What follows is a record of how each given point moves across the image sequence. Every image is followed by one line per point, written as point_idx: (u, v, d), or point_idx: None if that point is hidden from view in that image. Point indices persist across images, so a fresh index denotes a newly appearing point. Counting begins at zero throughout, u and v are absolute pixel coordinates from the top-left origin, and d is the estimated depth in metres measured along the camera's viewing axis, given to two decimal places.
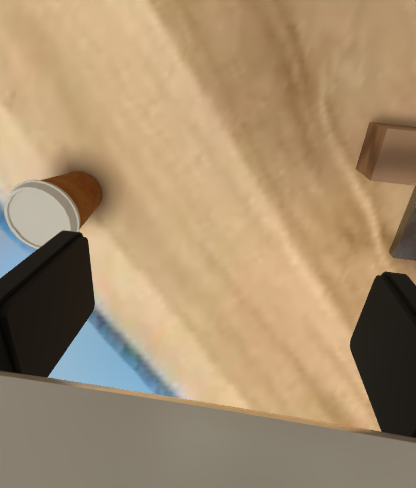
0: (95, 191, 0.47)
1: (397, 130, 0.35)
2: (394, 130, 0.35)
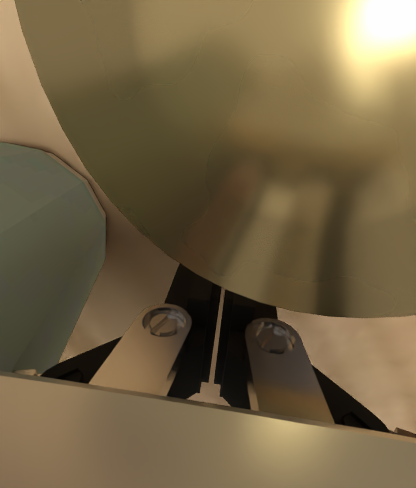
0: None
1: None
2: None
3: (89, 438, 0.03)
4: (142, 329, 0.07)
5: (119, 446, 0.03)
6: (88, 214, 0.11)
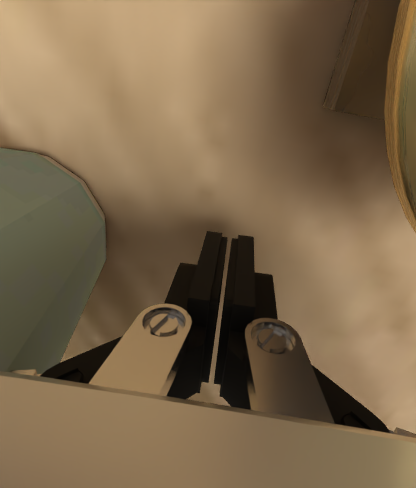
0: None
1: None
2: None
3: (89, 438, 0.03)
4: (142, 329, 0.07)
5: (119, 446, 0.03)
6: (85, 214, 0.11)
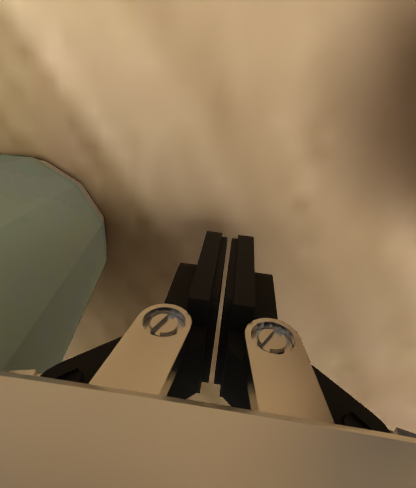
0: None
1: None
2: None
3: (89, 438, 0.03)
4: (142, 329, 0.07)
5: (119, 446, 0.03)
6: (83, 215, 0.12)
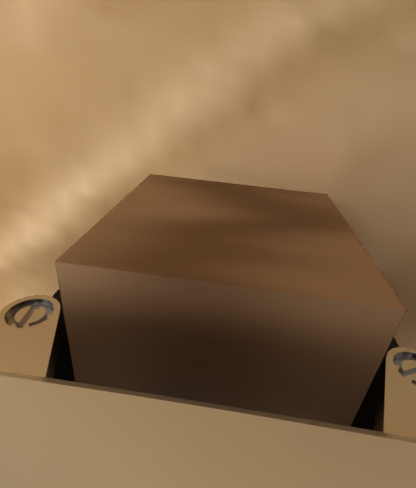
0: None
1: (376, 357, 0.06)
2: (380, 344, 0.06)
3: (89, 438, 0.03)
4: (2, 320, 0.06)
5: (119, 446, 0.03)
6: None
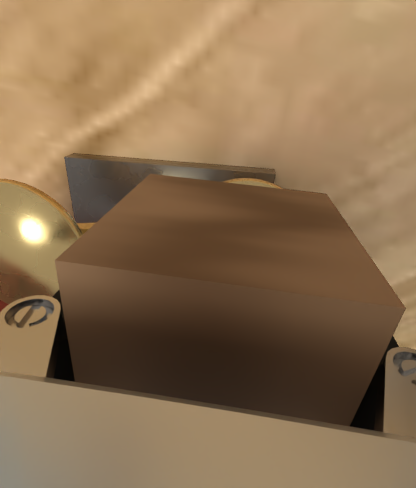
0: None
1: (376, 356, 0.06)
2: (379, 343, 0.06)
3: (89, 438, 0.03)
4: (2, 320, 0.06)
5: (119, 446, 0.03)
6: None
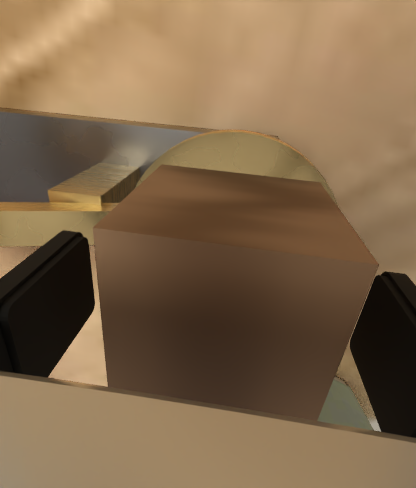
0: None
1: (356, 307, 0.07)
2: (359, 295, 0.07)
3: (89, 438, 0.03)
4: None
5: (119, 446, 0.03)
6: None
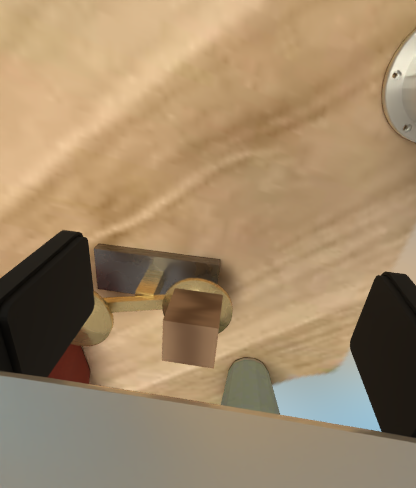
0: None
1: (216, 336, 0.33)
2: (216, 334, 0.33)
3: (89, 438, 0.03)
4: None
5: (119, 446, 0.03)
6: (239, 365, 0.51)
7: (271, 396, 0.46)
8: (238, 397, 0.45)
